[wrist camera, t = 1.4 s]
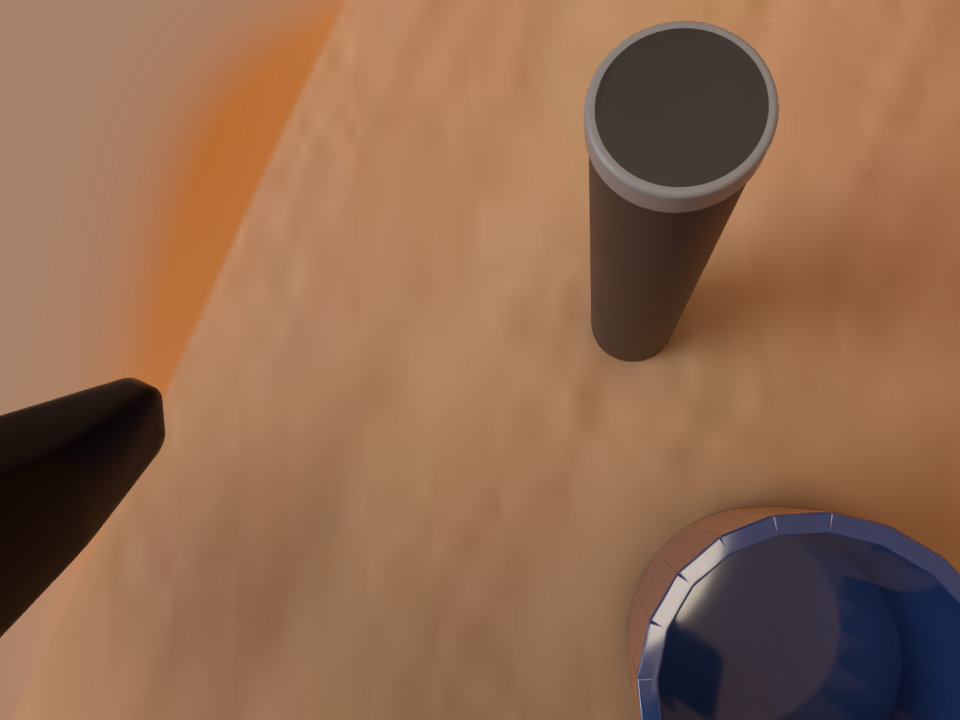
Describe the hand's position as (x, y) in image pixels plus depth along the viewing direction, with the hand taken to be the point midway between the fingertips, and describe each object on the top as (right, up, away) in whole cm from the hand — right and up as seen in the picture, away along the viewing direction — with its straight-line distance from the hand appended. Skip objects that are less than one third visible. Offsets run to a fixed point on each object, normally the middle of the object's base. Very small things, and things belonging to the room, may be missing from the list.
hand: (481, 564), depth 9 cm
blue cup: (+7, -5, +11) cm, 14 cm away
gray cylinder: (+4, +3, +13) cm, 14 cm away
